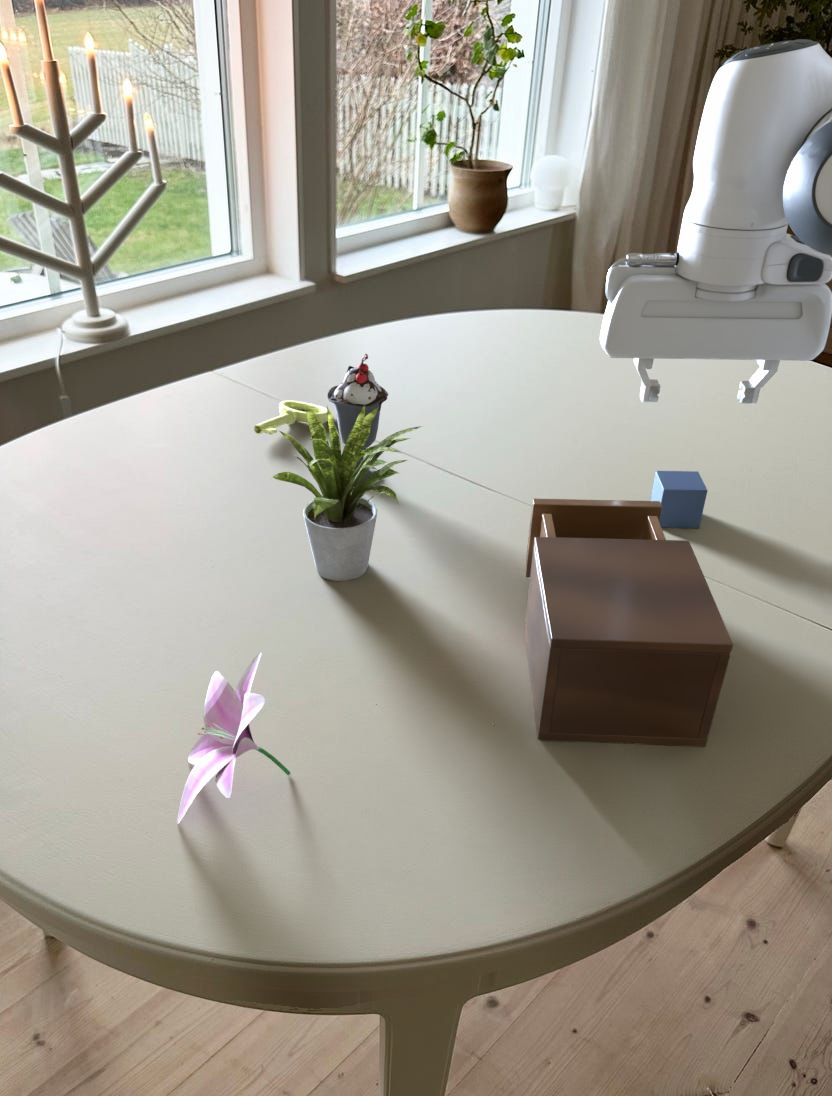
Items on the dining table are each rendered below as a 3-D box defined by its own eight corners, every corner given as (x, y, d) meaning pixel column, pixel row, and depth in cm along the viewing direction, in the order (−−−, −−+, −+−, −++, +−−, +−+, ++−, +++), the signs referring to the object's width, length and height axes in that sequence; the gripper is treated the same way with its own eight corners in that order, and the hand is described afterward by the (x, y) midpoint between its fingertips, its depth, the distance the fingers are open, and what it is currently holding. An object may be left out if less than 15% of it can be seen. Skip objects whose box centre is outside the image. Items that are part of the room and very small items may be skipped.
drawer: (521, 547, 95) (528, 475, 90) (637, 550, 94) (651, 478, 90) (536, 655, 80) (546, 576, 76) (674, 659, 80) (692, 580, 75)
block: (690, 508, 103) (698, 471, 100) (699, 528, 99) (707, 490, 97) (648, 507, 103) (655, 470, 101) (656, 527, 100) (663, 489, 97)
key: (252, 442, 118) (251, 426, 117) (285, 406, 128) (284, 390, 127) (307, 449, 117) (306, 432, 115) (336, 411, 126) (336, 396, 125)
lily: (236, 716, 77) (165, 646, 71) (359, 706, 71) (292, 627, 65) (185, 852, 71) (101, 786, 65) (315, 853, 64) (236, 781, 58)
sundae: (371, 495, 106) (370, 363, 98) (319, 483, 109) (314, 353, 100) (398, 472, 111) (400, 344, 102) (347, 460, 114) (345, 335, 105)
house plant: (405, 621, 86) (409, 454, 77) (257, 607, 88) (243, 443, 79) (424, 543, 98) (429, 389, 88) (292, 532, 100) (284, 381, 90)
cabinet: (524, 630, 85) (534, 536, 79) (668, 635, 84) (689, 540, 78) (537, 740, 73) (551, 639, 67) (705, 746, 72) (733, 644, 67)
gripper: (615, 261, 84) (594, 411, 92) (856, 263, 82) (812, 415, 90) (605, 244, 89) (585, 387, 97) (831, 245, 87) (792, 390, 96)
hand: (697, 401), depth 94 cm, fingers open, 8 cm apart
